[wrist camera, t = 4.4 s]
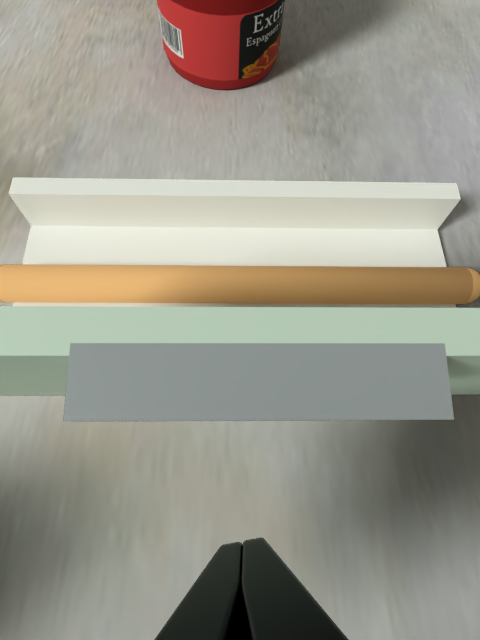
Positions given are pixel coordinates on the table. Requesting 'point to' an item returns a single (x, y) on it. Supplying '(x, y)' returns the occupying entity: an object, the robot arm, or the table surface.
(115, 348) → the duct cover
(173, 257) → the cable duct
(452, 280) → the orange rounded bar
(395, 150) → the table surface
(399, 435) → the table surface
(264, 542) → the robot arm
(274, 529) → the table surface
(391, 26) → the table surface
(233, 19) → the canned food
